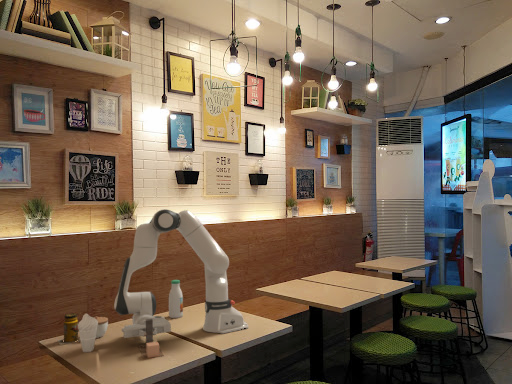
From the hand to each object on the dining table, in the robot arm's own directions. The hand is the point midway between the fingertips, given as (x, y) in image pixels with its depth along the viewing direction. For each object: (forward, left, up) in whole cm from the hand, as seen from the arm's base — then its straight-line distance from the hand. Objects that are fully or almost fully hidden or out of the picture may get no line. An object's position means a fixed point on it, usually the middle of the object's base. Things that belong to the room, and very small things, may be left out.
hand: (149, 334), depth 178 cm
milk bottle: (-22, -52, -8) cm, 56 cm away
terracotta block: (0, +8, -6) cm, 10 cm away
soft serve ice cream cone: (+24, -14, -8) cm, 29 cm away
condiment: (+32, -32, -8) cm, 46 cm away
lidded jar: (+20, -34, -8) cm, 40 cm away
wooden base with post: (0, +3, -8) cm, 8 cm away
